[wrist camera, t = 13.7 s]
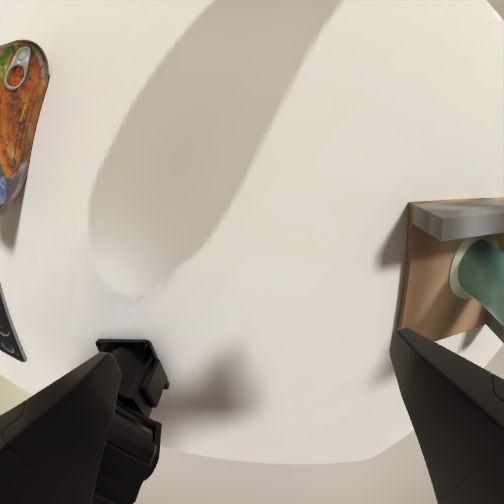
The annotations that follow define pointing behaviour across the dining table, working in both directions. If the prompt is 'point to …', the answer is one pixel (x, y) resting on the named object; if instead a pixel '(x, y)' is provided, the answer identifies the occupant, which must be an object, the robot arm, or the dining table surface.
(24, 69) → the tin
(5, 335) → the smartphone
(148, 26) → the dining table surface
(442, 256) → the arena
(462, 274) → the teal bottle
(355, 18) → the dining table surface
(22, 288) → the dining table surface
